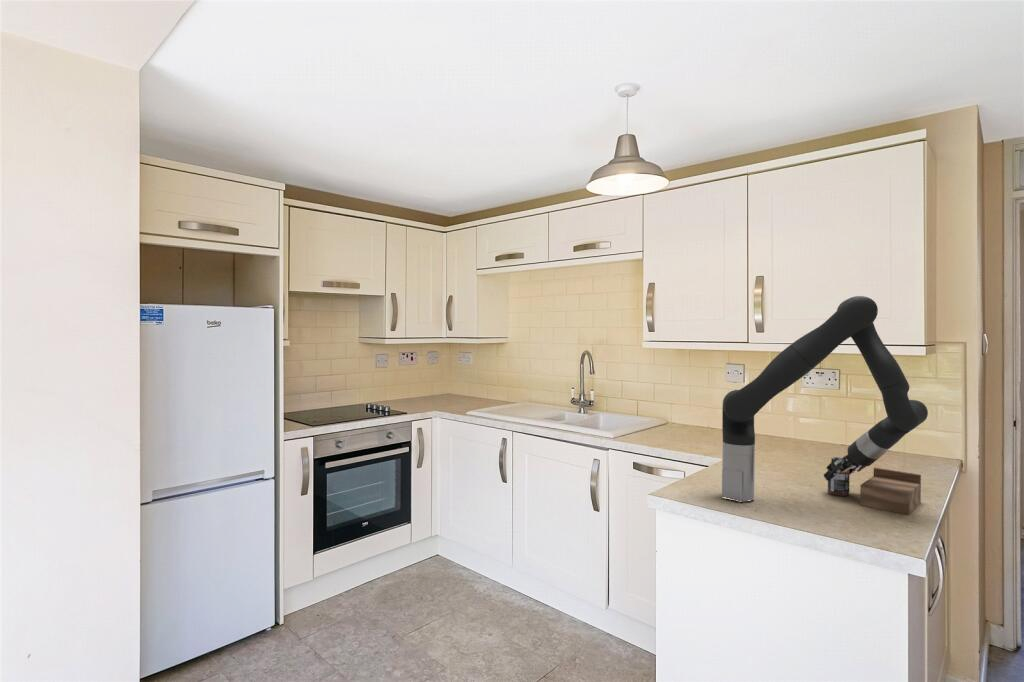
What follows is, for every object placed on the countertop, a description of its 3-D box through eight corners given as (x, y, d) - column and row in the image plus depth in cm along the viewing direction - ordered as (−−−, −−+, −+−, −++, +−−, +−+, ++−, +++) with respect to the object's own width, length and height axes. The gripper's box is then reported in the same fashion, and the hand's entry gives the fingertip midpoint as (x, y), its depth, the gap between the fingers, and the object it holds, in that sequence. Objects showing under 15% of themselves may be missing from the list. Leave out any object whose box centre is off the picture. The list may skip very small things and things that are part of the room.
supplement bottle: (829, 490, 180) (829, 455, 180) (850, 493, 176) (851, 458, 176) (825, 494, 175) (826, 458, 175) (847, 497, 171) (848, 461, 171)
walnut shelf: (908, 514, 156) (909, 484, 156) (860, 505, 164) (860, 476, 164) (920, 502, 167) (921, 474, 167) (874, 494, 175) (874, 467, 175)
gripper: (878, 436, 171) (843, 465, 182) (843, 438, 166) (809, 468, 177) (894, 456, 166) (857, 485, 177) (859, 460, 161) (823, 489, 172)
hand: (833, 477), depth 177 cm, fingers closed on supplement bottle, 6 cm apart
